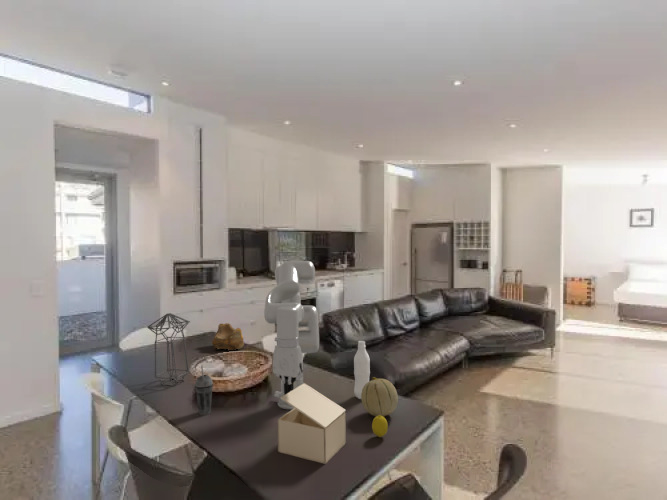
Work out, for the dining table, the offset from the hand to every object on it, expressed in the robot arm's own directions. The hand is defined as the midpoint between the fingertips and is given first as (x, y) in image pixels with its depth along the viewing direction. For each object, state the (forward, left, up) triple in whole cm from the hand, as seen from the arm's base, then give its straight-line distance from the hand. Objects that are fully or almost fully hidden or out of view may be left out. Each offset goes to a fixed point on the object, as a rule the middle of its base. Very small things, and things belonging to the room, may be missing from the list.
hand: (288, 394), depth 154 cm
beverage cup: (-46, +7, -17) cm, 50 cm away
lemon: (+27, +17, -17) cm, 36 cm away
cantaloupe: (+20, +35, -17) cm, 44 cm away
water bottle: (+6, +50, -17) cm, 53 cm away
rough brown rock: (-107, +91, -17) cm, 142 cm away
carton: (+9, 0, -17) cm, 19 cm away
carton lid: (+10, 0, -2) cm, 10 cm away
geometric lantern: (-88, +28, -17) cm, 94 cm away
